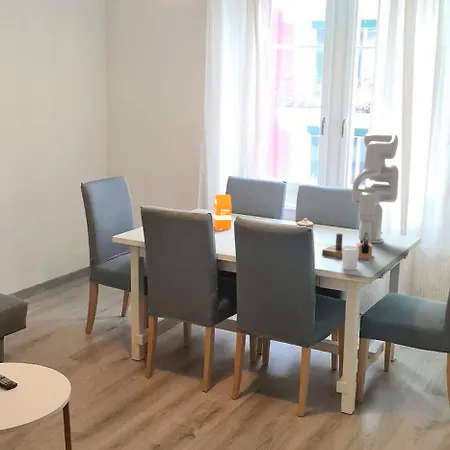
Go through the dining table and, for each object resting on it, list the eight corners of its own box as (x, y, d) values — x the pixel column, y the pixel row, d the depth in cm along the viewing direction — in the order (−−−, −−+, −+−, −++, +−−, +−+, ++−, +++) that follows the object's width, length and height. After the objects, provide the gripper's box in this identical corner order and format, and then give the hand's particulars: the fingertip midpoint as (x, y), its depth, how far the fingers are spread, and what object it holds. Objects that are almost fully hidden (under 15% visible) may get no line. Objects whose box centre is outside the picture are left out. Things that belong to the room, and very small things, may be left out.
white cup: (339, 266, 331) (340, 245, 329) (355, 265, 332) (356, 245, 329) (343, 270, 323) (344, 250, 321) (359, 270, 324) (361, 249, 322)
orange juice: (213, 227, 406) (213, 193, 402) (227, 226, 408) (228, 193, 404) (216, 230, 399) (216, 196, 394) (231, 229, 401) (232, 195, 397)
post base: (333, 250, 358) (334, 230, 356) (354, 254, 352) (355, 233, 349) (322, 255, 349) (323, 234, 346) (343, 259, 342) (345, 238, 340)
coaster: (359, 254, 352) (359, 253, 352) (374, 257, 347) (374, 256, 347) (352, 257, 346) (352, 256, 346) (367, 260, 341) (367, 259, 341)
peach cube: (370, 254, 350) (371, 241, 348) (371, 258, 343) (372, 244, 341) (356, 254, 350) (356, 240, 349) (357, 257, 343) (358, 244, 342)
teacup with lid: (307, 242, 376) (308, 221, 373) (293, 239, 381) (294, 218, 378) (318, 238, 385) (319, 217, 383) (304, 235, 390) (305, 215, 388)
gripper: (357, 213, 351) (355, 246, 355) (360, 220, 334) (357, 255, 338) (372, 214, 350) (369, 246, 354) (375, 221, 333) (373, 255, 337)
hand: (364, 250), depth 346 cm, fingers open, 9 cm apart
